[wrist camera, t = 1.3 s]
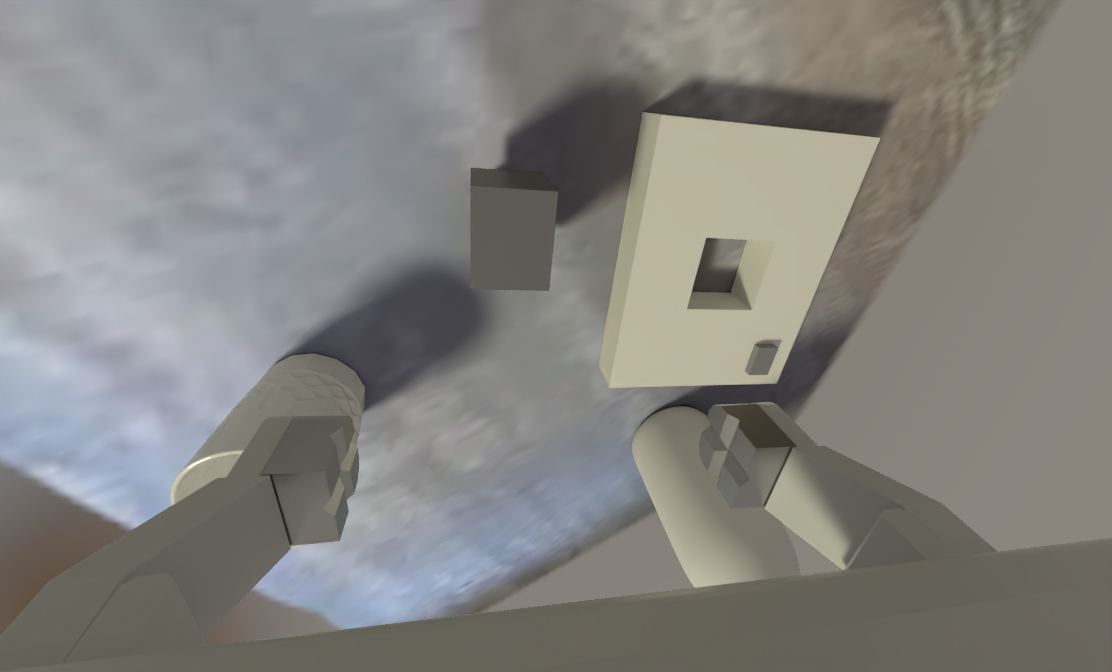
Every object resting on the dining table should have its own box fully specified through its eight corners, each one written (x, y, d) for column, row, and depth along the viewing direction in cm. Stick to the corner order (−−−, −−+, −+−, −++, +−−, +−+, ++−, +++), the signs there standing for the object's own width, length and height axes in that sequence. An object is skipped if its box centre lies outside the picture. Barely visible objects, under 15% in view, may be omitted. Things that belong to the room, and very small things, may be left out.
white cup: (387, 363, 31) (355, 467, 23) (360, 441, 34) (324, 559, 26) (264, 330, 28) (175, 435, 20) (247, 419, 32) (164, 543, 23)
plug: (470, 161, 25) (470, 185, 19) (538, 166, 26) (558, 191, 20) (470, 244, 28) (470, 289, 22) (532, 246, 29) (549, 290, 22)
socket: (642, 111, 26) (665, 115, 23) (843, 133, 28) (888, 139, 25) (598, 365, 34) (611, 392, 31) (755, 363, 37) (781, 388, 34)
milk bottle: (621, 467, 41) (728, 741, 24) (641, 402, 37) (784, 671, 20) (694, 465, 42) (844, 720, 25) (720, 403, 39) (915, 653, 22)
